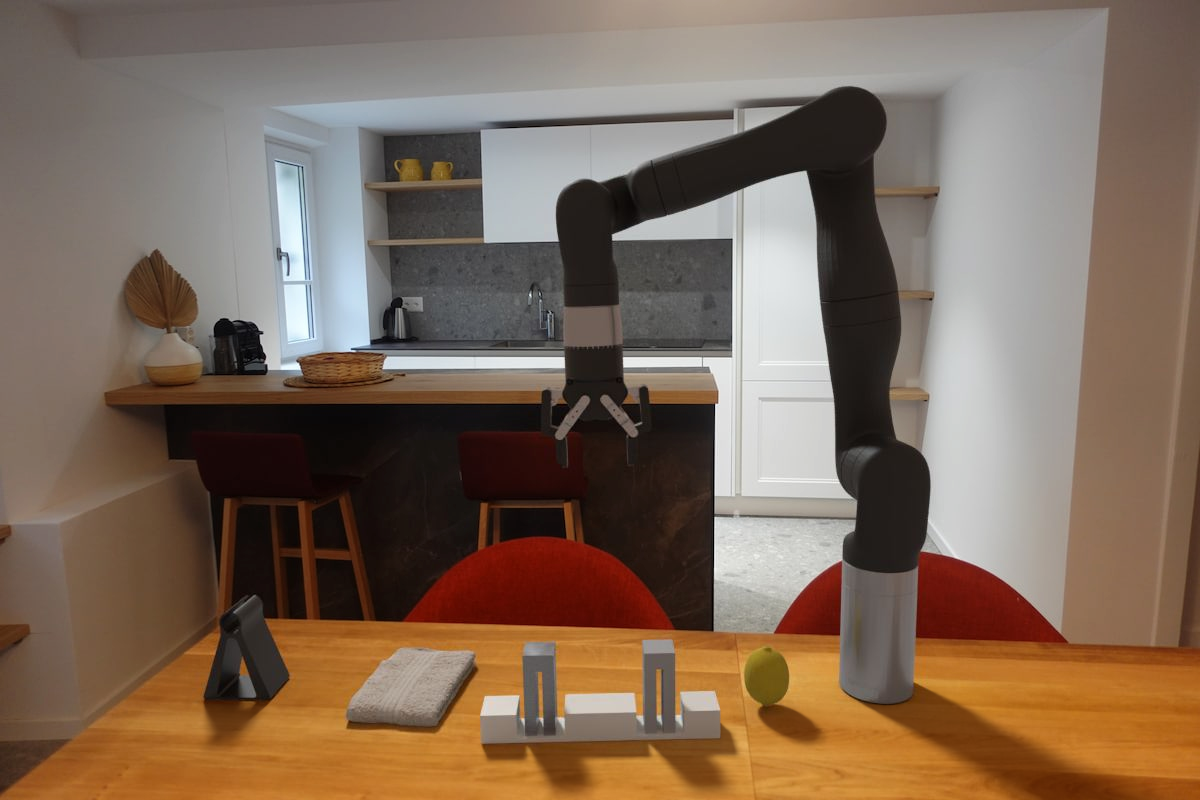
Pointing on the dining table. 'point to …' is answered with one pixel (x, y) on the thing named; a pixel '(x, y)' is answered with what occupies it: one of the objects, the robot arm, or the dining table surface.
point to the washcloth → (411, 687)
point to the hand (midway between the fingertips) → (597, 465)
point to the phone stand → (245, 656)
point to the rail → (614, 710)
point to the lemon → (766, 676)
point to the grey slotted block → (535, 661)
